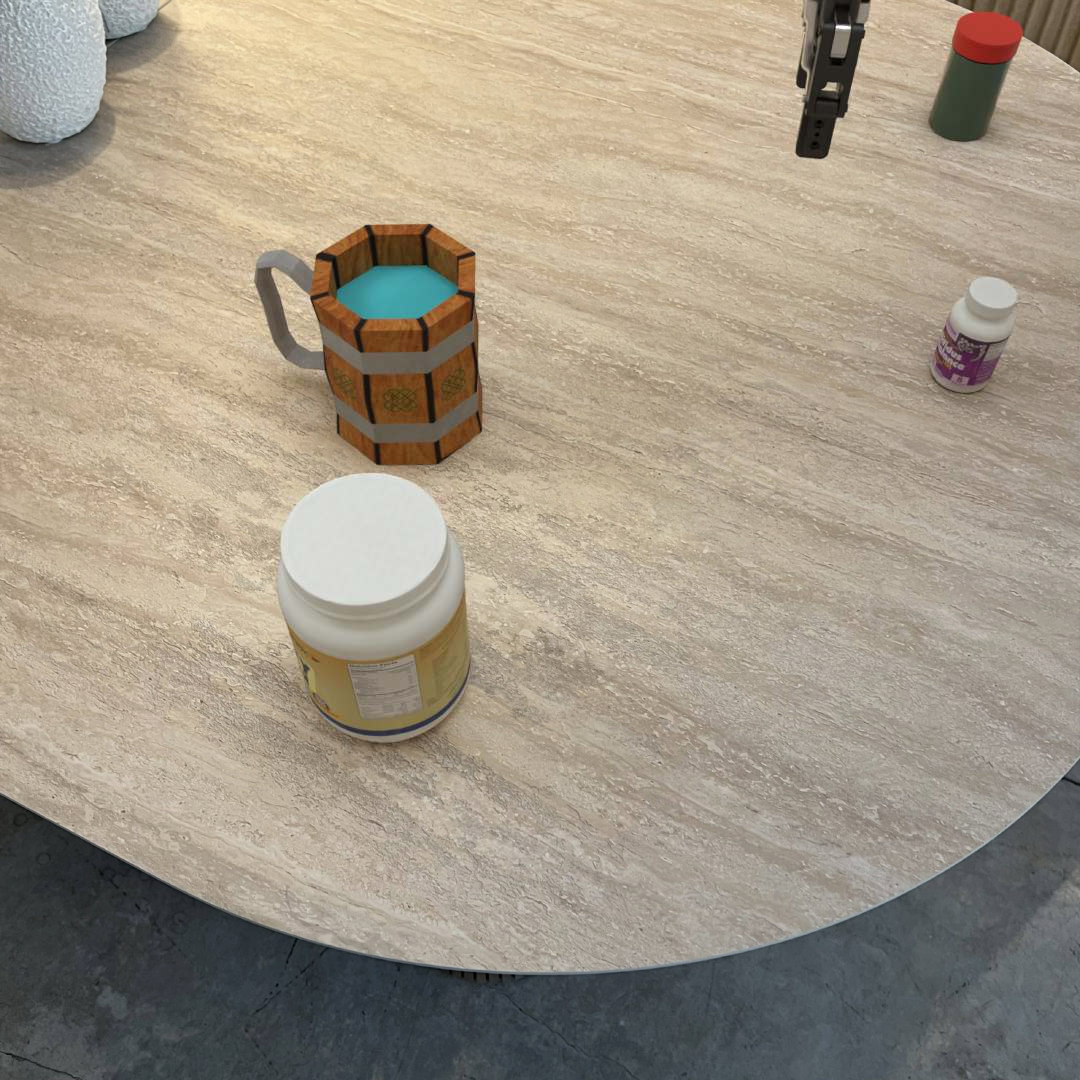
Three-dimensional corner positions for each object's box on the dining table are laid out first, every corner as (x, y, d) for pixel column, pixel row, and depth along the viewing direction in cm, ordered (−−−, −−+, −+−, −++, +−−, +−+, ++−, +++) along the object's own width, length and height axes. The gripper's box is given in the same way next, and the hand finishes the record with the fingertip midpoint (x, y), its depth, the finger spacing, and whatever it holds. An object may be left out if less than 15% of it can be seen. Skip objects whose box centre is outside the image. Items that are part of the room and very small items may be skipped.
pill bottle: (916, 371, 104) (947, 288, 96) (953, 345, 106) (986, 261, 98) (964, 404, 101) (1000, 322, 93) (1001, 377, 103) (1039, 294, 96)
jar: (984, 111, 129) (1016, 20, 120) (989, 144, 125) (1023, 52, 117) (926, 106, 129) (954, 15, 121) (930, 138, 125) (959, 47, 117)
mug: (511, 379, 103) (508, 243, 91) (450, 487, 95) (439, 354, 83) (315, 324, 107) (288, 188, 95) (242, 424, 99) (202, 288, 87)
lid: (1013, 32, 122) (1020, 14, 120) (1020, 66, 118) (1027, 47, 116) (949, 27, 122) (954, 9, 120) (954, 60, 118) (959, 42, 116)
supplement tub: (298, 621, 87) (256, 476, 73) (456, 592, 89) (442, 445, 75) (316, 765, 80) (273, 634, 66) (487, 730, 81) (479, 596, 68)
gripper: (935, -65, 63) (867, 185, 76) (920, -174, 71) (861, 69, 84) (798, -75, 64) (753, 176, 76) (799, -181, 72) (759, 61, 85)
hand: (810, 119), depth 80 cm, fingers open, 8 cm apart
